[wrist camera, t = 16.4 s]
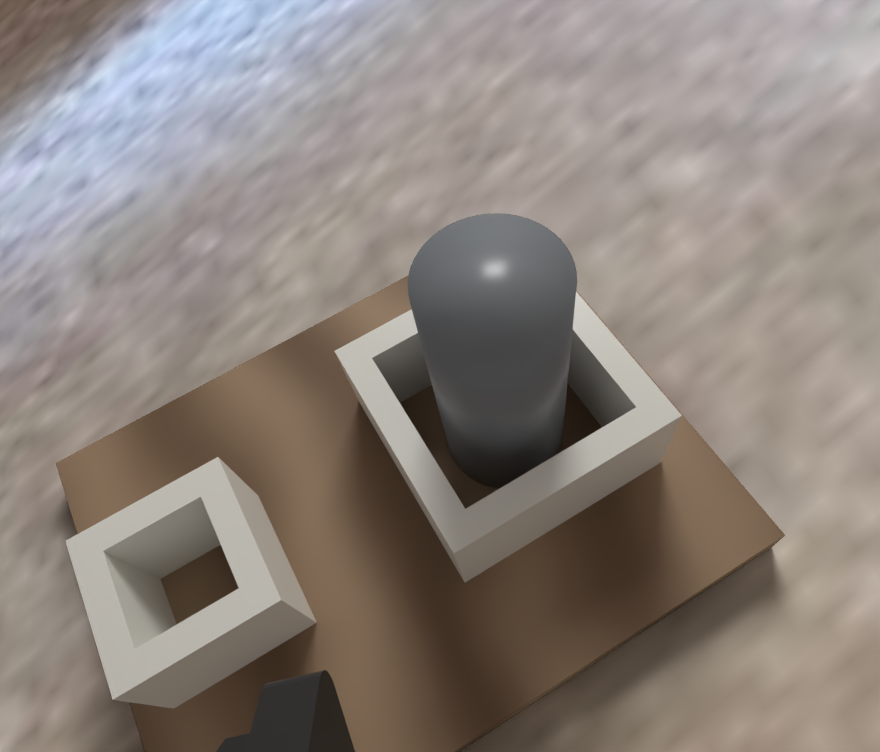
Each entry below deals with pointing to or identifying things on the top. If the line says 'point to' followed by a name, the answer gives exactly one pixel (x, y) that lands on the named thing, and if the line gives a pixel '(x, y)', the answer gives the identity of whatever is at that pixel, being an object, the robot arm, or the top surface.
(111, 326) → the top surface
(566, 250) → the capsule
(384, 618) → the board
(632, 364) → the socket fittings
